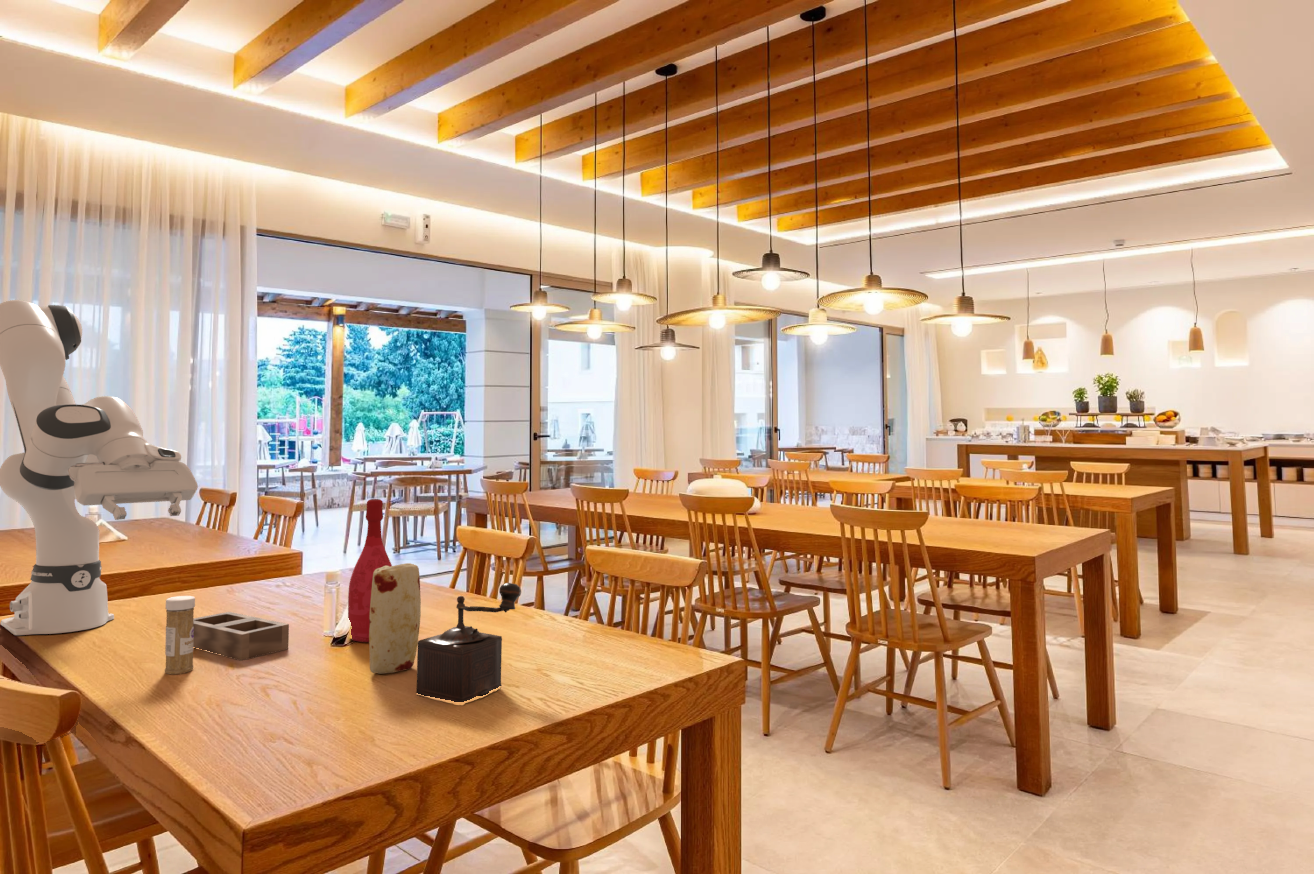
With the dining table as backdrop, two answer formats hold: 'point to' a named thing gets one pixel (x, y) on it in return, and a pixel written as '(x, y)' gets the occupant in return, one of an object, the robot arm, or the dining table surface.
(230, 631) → the rail
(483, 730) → the dining table surface
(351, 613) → the wine bottle
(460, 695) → the coffee grinder
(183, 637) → the sprinkles bottle
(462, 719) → the dining table surface
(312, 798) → the dining table surface
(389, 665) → the food model
